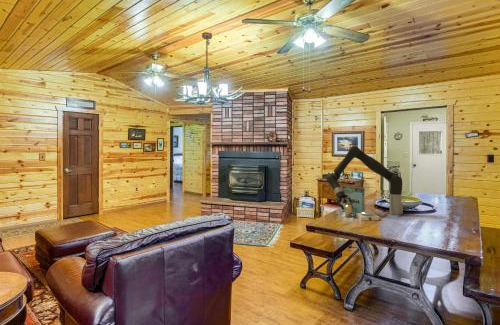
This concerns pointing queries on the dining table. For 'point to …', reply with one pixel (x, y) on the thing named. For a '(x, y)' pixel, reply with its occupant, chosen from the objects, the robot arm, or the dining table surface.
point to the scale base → (367, 217)
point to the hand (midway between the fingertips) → (347, 208)
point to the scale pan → (367, 212)
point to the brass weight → (348, 210)
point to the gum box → (355, 198)
